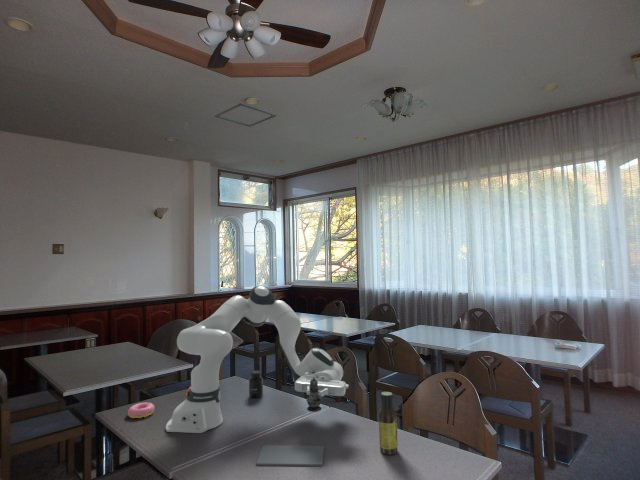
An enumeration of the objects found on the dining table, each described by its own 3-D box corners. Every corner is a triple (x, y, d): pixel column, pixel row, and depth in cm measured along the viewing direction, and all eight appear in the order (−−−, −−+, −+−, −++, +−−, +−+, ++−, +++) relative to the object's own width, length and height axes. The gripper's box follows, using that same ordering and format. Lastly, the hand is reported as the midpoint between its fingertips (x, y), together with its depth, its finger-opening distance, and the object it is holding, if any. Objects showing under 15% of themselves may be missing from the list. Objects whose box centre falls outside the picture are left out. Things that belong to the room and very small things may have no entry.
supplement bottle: (251, 400, 187) (251, 374, 187) (247, 395, 193) (246, 371, 193) (265, 397, 190) (264, 372, 190) (260, 393, 196) (260, 368, 196)
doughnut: (137, 422, 165) (137, 412, 165) (122, 416, 171) (122, 407, 171) (160, 412, 174) (160, 403, 174) (145, 408, 180) (145, 398, 180)
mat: (255, 465, 129) (255, 463, 129) (263, 447, 141) (263, 445, 141) (322, 466, 128) (322, 464, 128) (324, 447, 140) (324, 446, 140)
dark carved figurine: (306, 405, 150) (306, 374, 150) (321, 405, 150) (321, 374, 150) (306, 412, 144) (305, 379, 144) (322, 412, 144) (321, 379, 144)
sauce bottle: (400, 454, 134) (399, 396, 135) (383, 456, 133) (382, 397, 134) (393, 445, 141) (391, 389, 141) (376, 447, 139) (375, 391, 140)
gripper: (350, 392, 157) (341, 405, 144) (302, 387, 163) (289, 399, 150) (349, 376, 157) (340, 388, 144) (302, 371, 163) (289, 382, 150)
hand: (314, 393), depth 147 cm, fingers closed on dark carved figurine, 3 cm apart
